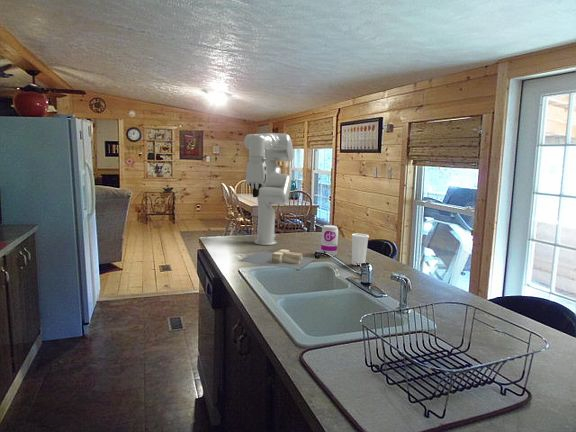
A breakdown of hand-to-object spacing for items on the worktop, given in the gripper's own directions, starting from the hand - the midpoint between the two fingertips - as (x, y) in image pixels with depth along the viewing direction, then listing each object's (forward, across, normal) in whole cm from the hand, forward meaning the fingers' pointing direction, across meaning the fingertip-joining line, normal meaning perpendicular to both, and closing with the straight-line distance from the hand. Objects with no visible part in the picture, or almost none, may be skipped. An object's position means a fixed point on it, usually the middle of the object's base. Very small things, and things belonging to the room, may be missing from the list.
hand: (255, 196), depth 218 cm
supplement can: (+29, -36, -13) cm, 48 cm away
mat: (+28, -18, +11) cm, 35 cm away
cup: (+28, -54, 0) cm, 61 cm away
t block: (+28, -23, +11) cm, 38 cm away
